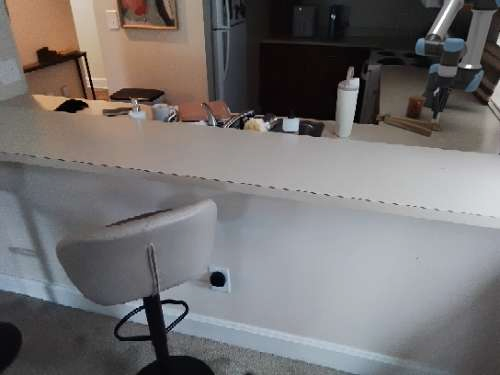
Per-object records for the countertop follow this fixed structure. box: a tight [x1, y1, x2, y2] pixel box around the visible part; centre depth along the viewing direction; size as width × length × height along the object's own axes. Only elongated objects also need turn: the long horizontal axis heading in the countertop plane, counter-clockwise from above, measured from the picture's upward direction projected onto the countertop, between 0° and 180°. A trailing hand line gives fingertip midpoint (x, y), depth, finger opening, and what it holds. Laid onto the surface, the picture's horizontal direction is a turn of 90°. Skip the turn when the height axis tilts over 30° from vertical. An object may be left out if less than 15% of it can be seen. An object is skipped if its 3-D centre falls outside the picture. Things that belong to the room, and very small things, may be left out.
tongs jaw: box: [391, 115, 443, 132], centre depth 186 cm, size 3×23×3 cm, turn 57°
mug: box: [405, 94, 426, 119], centre depth 197 cm, size 12×9×10 cm
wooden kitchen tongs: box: [375, 113, 433, 137], centre depth 184 cm, size 5×29×3 cm, turn 36°
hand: (433, 125), depth 184 cm, fingers closed
